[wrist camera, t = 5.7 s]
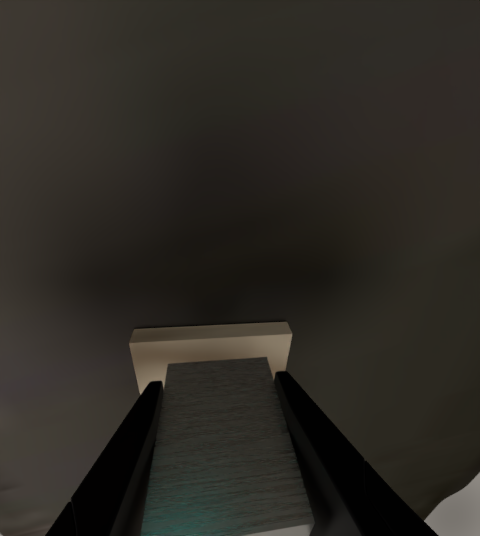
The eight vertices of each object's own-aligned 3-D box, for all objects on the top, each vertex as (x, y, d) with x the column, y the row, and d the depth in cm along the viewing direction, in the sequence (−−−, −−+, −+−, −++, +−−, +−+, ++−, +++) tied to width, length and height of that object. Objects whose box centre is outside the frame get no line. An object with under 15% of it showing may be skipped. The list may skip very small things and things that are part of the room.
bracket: (260, 467, 26) (291, 648, 17) (163, 480, 25) (140, 684, 15) (287, 321, 17) (388, 544, 8) (134, 329, 15) (29, 614, 6)
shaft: (245, 503, 17) (261, 633, 12) (186, 512, 16) (179, 652, 12) (267, 356, 10) (314, 523, 6) (167, 363, 10) (137, 553, 5)
